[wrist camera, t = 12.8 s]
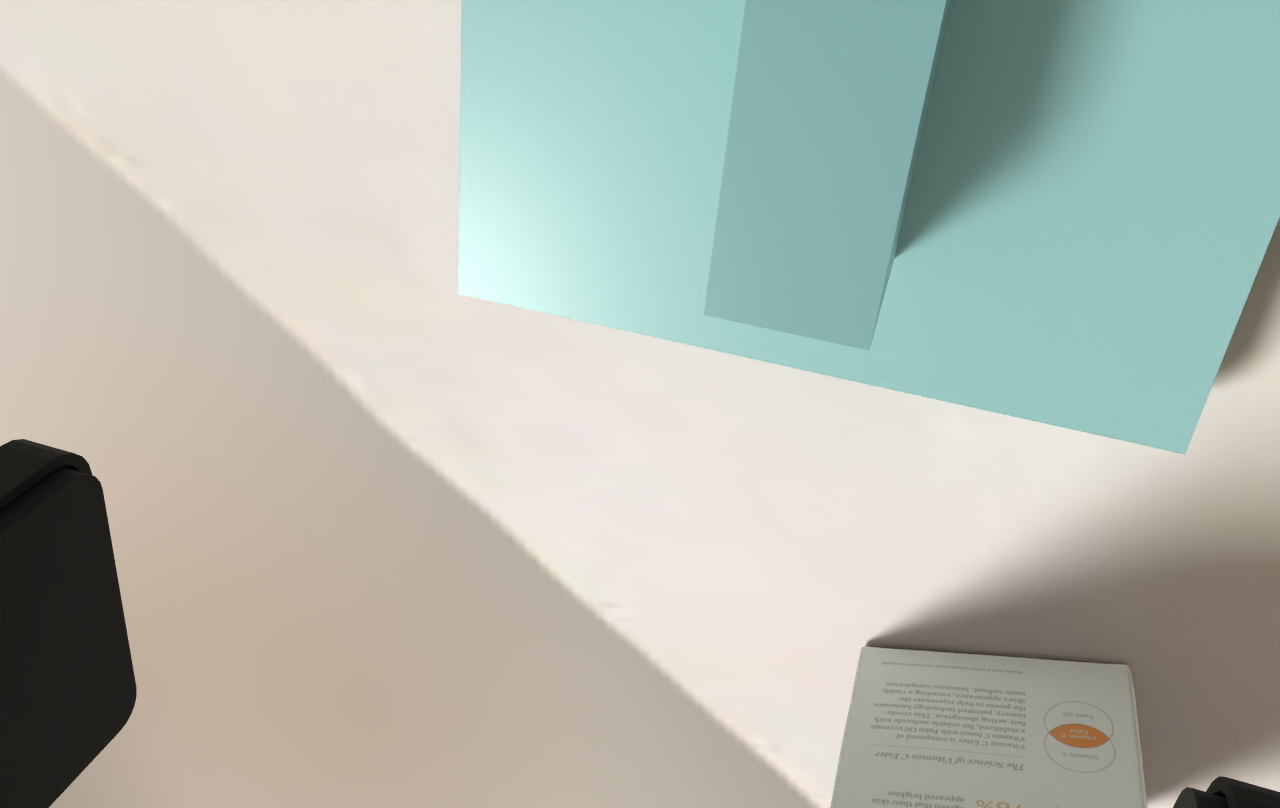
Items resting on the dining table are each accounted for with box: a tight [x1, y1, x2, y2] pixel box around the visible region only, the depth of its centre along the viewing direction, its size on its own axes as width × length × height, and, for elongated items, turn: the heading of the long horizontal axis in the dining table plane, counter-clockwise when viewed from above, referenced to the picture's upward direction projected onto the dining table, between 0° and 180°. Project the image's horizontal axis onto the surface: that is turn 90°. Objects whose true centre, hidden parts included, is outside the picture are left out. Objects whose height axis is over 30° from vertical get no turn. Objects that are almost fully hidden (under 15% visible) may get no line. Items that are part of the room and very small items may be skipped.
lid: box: [458, 0, 1280, 454], centre depth 26 cm, size 19×15×8 cm
